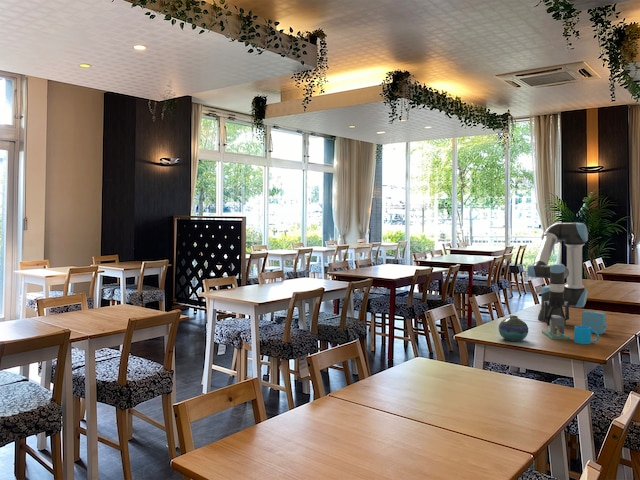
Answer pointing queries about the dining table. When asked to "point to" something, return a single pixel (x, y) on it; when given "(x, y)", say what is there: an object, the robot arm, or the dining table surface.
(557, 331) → the header board
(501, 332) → the vase
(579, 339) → the mug
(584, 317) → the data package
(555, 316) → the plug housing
